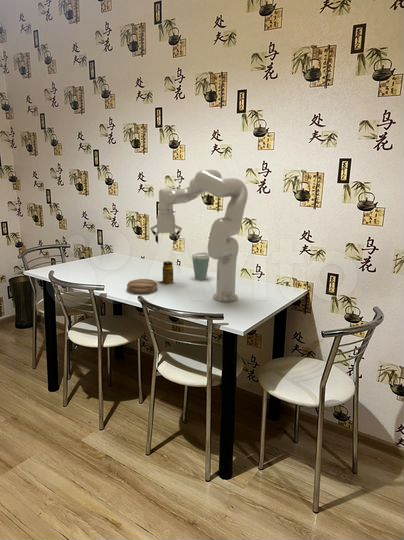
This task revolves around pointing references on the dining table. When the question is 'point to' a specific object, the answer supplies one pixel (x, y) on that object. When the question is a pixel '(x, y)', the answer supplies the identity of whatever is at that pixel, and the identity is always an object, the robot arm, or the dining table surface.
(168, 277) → the condiment
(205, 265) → the disposable coffee cup
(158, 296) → the dining table surface
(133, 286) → the walnut stand
